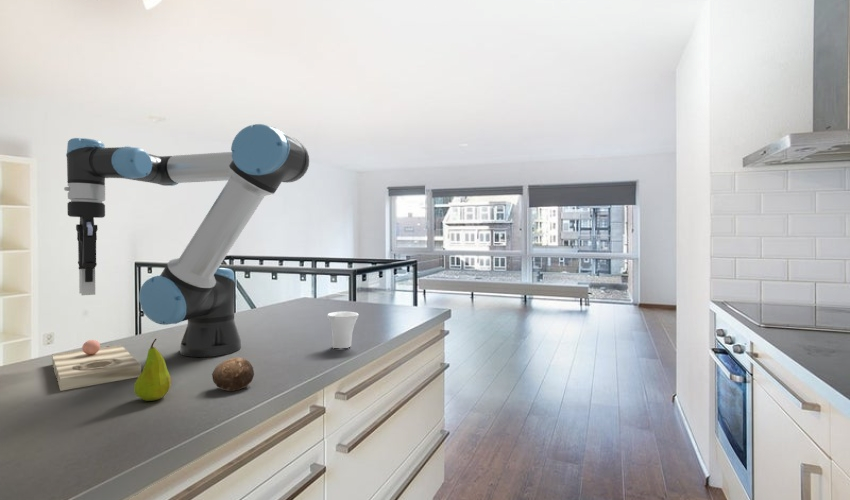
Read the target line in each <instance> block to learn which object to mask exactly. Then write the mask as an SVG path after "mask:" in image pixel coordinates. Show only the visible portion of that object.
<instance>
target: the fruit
mask: <svg viewBox="0 0 850 500" xmlns="http://www.w3.org/2000/svg"><path fill="white" fill-rule="evenodd" d="M156 341H157V338H155V339H154V340H153V341H152V342H151V345H150V348H149V349H148V352H147V356H146V361H145V364H144V366H143V370H141V375H140V376H139V377H137V379H136V380H135V382H134V387H133V388H134V389H133V391H134V395H135V396H136V397H138V398H139V399H141V400H143V401H145V402H147V401H148V402H150V401H152V402H153V401H157V400H160V399H161V398H163V397H164V396H166V395H167V394H168V391H170V388H171V385H172V378H171V374H170V373H169V370H168V367H167V364H166V360H165V359H164V358H165V357H163V355H162V354H161V352H160V351H159V350H158V349H157V348H156V347H154V344H155V342H156Z"/></svg>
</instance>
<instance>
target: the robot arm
mask: <svg viewBox="0 0 850 500" xmlns="http://www.w3.org/2000/svg"><path fill="white" fill-rule="evenodd" d="M65 156H66V169H67V170H66V174H67V180H66V181H67V182H66V183H67V186H64V188H63V190H64V191H66V192H67V199H68V200H69V201H68V202H67V216H69V217H71V218H79V224H75V225H76V226H75V230H76V233H77V235H76V240H77V245H78V246H77V249H78V250H77V252H78V254H77V255H78V256H77V257H78V261H77V264H78V275H79V276H78V277H79V278H78V281H79V283H78V285H79V286H78V288H79V295H80V294H81V296H94V295H96V267H97V265H98V264H97V240H98V239H97V237H98V236H97V231H98V224H95V219H94V218H96V219H97V218H98V219H99V218H100V219H102V218H105V216H106V204H105V203H104V202H105V201H106V179H125V180H130V181H138V182H143V183H150V184H151V183H152V184H156V185H160V186H167V187H168V186H170V187H171V186H172V187H173V186H177V185H179V184H182V183H184V184H185V183H203V182H204V183H205V182H223V181H225V182H226V181H227V182H226V183H225V186H224V187H223V188H222V190H221V192H220V193H219V195H218V196H217V197H216V199H215V201H214V202H213V204H212V206H211V207H210V209H209V211H208V212H207V213H206V215H205V217H204V219H203V220H202V222H201V223H200V225H199V226H198V228H197V229H196V231H195V233H194V234H193V236H192V237H191V239H190V240H189V242H188V244H187V245H186V247H185V248H184V249H183V251H182V253H181V255H180V256H179V258H174V259H170V260H169V261H168V262H167V264H166V265H165V267H164V268H163V270H162V272H161V273H160V275H156V276H152V277H150V278H148V279H147V280H145V281H144V282H143V284H142V285H141V287H140V290H139V293H138V301H139V303H140V306H141V307H140V308H141V310H142V312H143V313H144V315H145V316H146V318H148V320H150V321H152V322H153V323H154V324H155V323H156V324H158V325H162V326H163V325H174V324H175V325H176V324H179V323H182V322H185V321H187V326H186V328H185V330H184V334H183V337H182V340H181V343H180V345H179V346H180V347H179V348H180V354H181V355H182V356H184V357H192V358H193V357H195V358H204V357H205V358H207V357H216V356H222V355H223V356H224V355H228V354H232V353H235V352H237V351H240V349H241V348H242V339H241V335H240V334H239V330H238V328H237V325H236V322H235V291H236V290H235V289H236V288H235V287H236V286H235V284H236V280H235V272H234V271H233V270H232V268H227V267H220V266H221V264H222V263H223V261H224V260H225V258H226V257H227V255H228V253H229V252H230V250H232V247H233V246H234V244H235V243H236V242H237V239H238V238H239V237H240V236H241V233H242V232H243V230H244V229H245V227H246V226H247V224H248V222H249V221H250V219H251V218H252V216H253V215H254V213H255V212H256V210H257V209H258V207H259V206H260V204H261V202H262V201H263V200H264V198H265V197H267V196H269V195H275V193H276V191H277V190H278V188H279V187H280V186H281V184H282V183H285V184H286V183H294V182H297V181H299V180H300V179H302V178H303V177H304V175H305V174H306V173H307V171H308V169H309V167H310V155H309V152H308V150H307V148H306V147H305V145H304V143H302V142H301V141H300V140H298V139H296V138H295V137H292V136H291V135H288V134H286V133H285V132H283V131H282V130H280V129H278V128H276V127H273V126H270V125H267V124H262V123H257V124H256V123H255V124H251V125H248V126H246V127H244V128H242V129H241V130H240V131H238V133H237V134H236V135H235V137H234V138H233V140H232V143H231V147H230V151H226V152H225V151H224V152H222V151H221V152H211V153H193V154H191V153H190V154H178V155H164V156H159V155H154V154H151V153H147V151H146V150H145V149H143V148H141V147H133V146H120V147H106V146H105V143H103V142H102V141H100V140H99V139H98V140H97V139H94V138H93V139H91V138H85V137H84V138H83V137H82V138H80V137H73V138H70V139H69V140H68V141H67V147H66V153H65Z"/></svg>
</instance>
